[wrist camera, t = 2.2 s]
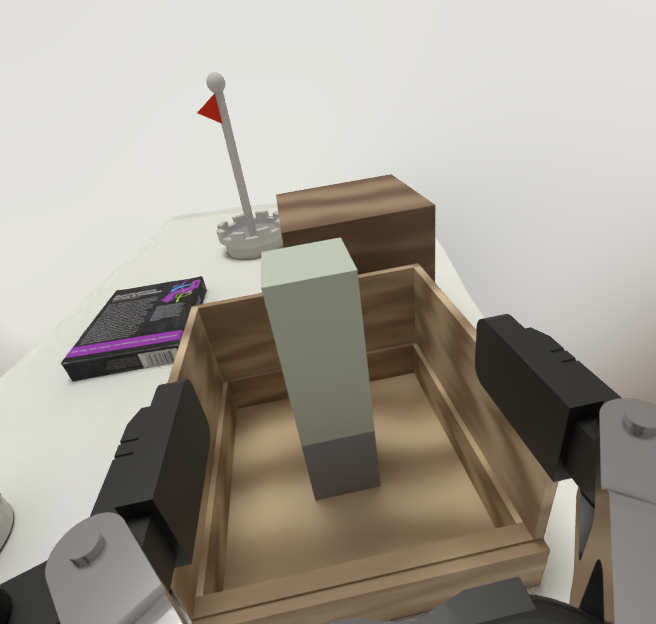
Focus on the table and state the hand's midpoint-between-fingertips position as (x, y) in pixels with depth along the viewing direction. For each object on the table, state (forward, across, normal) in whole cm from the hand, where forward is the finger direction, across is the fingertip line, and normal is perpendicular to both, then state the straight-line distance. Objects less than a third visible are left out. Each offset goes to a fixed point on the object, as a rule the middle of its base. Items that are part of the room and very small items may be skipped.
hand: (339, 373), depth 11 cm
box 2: (+12, 0, +20) cm, 23 cm away
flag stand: (+67, +8, +20) cm, 70 cm away
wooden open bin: (+12, 0, +20) cm, 24 cm away
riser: (+32, -5, +20) cm, 38 cm away
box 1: (+42, +23, +20) cm, 52 cm away
